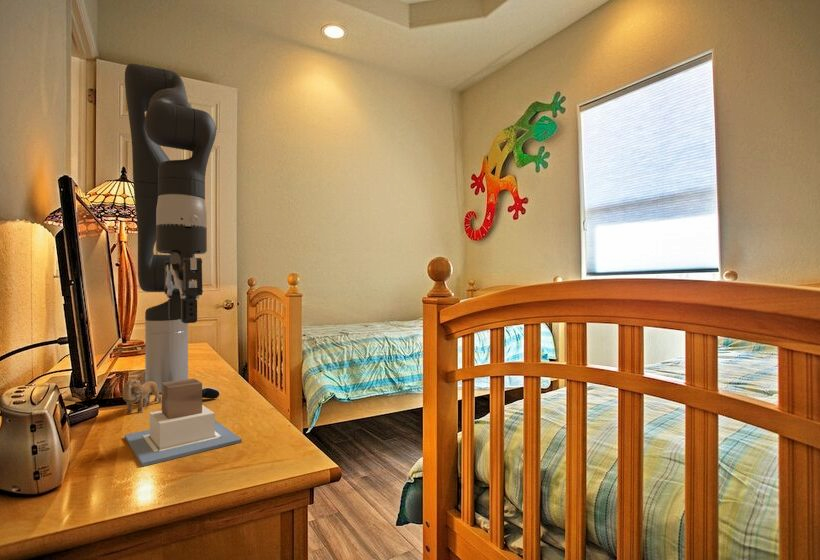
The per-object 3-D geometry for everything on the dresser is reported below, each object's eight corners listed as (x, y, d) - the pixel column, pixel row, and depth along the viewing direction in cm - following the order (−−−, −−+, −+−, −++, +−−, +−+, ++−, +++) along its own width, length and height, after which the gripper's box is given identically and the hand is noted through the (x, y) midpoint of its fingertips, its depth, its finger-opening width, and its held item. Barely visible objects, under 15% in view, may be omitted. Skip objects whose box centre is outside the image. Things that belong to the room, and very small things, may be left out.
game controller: (201, 403, 87) (179, 384, 88) (184, 423, 87) (162, 404, 88) (223, 392, 97) (203, 374, 97) (207, 410, 97) (188, 392, 97)
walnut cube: (161, 412, 72) (161, 382, 72) (194, 406, 75) (193, 378, 75) (168, 419, 68) (168, 387, 68) (202, 413, 71) (202, 383, 71)
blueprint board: (124, 437, 73) (124, 433, 73) (211, 419, 82) (211, 416, 82) (142, 466, 61) (142, 462, 61) (241, 442, 70) (241, 438, 70)
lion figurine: (140, 417, 84) (140, 380, 84) (116, 419, 83) (116, 381, 83) (165, 401, 96) (165, 369, 96) (144, 402, 95) (144, 370, 95)
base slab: (149, 436, 72) (149, 412, 72) (200, 425, 77) (200, 403, 77) (160, 449, 66) (160, 423, 66) (214, 437, 71) (214, 413, 71)
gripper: (147, 227, 75) (148, 320, 75) (166, 217, 64) (167, 325, 64) (194, 230, 80) (194, 317, 80) (219, 222, 69) (219, 322, 69)
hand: (182, 321), depth 72 cm, fingers open, 8 cm apart
